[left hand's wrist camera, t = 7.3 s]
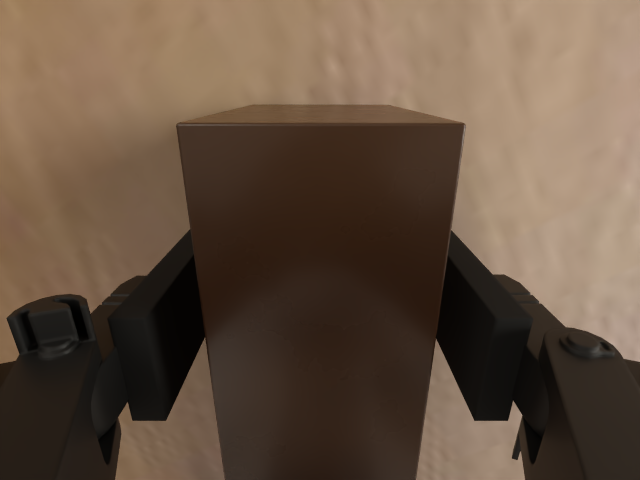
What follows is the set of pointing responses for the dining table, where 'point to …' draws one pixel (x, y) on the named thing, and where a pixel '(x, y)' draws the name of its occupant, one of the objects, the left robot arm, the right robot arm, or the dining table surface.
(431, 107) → the dining table surface
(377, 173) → the plank
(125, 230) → the dining table surface
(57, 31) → the dining table surface
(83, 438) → the left robot arm
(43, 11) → the dining table surface
